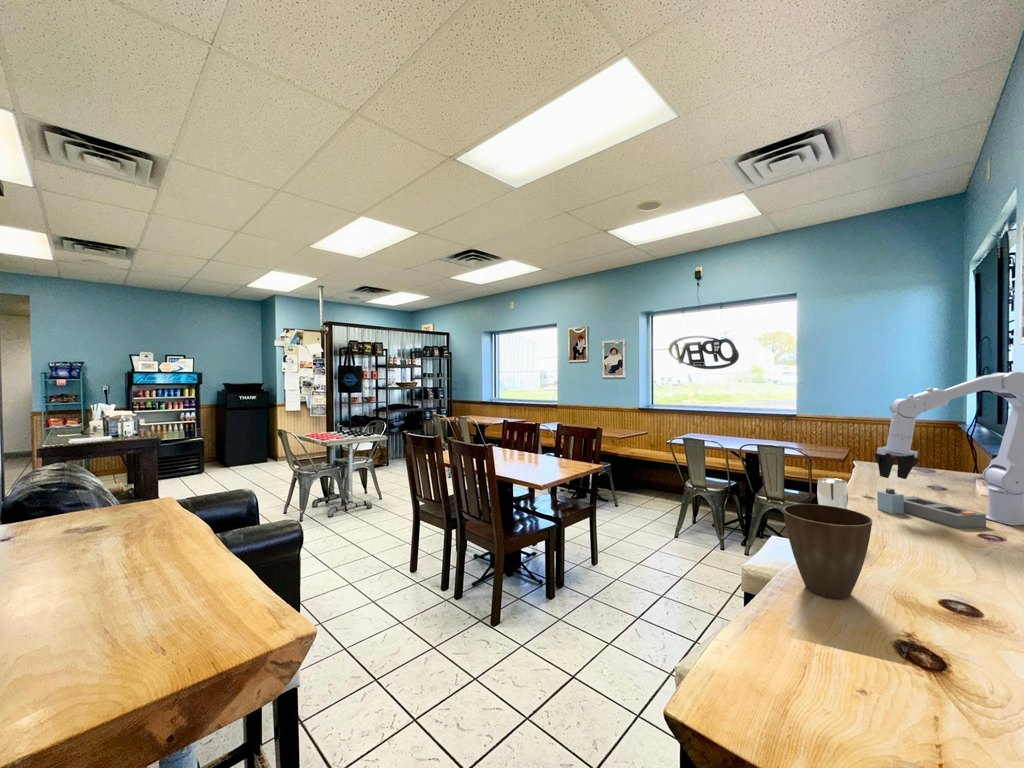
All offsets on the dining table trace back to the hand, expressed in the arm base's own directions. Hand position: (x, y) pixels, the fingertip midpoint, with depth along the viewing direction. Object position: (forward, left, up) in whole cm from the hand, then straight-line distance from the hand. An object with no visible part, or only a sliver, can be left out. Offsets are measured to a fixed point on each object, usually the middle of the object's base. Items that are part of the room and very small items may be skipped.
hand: (892, 477), depth 138 cm
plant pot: (+62, +43, -11) cm, 76 cm away
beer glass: (+34, +14, -11) cm, 38 cm away
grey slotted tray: (-8, +6, -11) cm, 15 cm away
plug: (0, -1, -11) cm, 11 cm away
